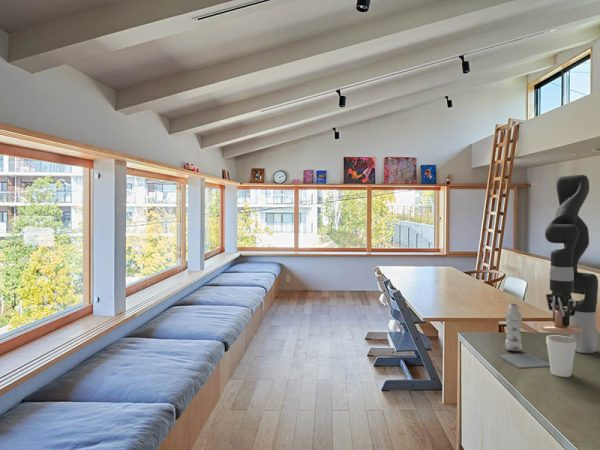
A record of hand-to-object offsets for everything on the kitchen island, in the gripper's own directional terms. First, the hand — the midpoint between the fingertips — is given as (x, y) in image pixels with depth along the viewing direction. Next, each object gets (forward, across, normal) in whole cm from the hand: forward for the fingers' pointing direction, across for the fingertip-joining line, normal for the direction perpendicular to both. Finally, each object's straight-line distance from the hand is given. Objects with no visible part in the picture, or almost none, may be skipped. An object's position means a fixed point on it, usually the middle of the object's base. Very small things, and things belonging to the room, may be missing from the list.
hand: (561, 324), depth 160 cm
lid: (+2, 0, 0) cm, 2 cm away
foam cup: (+19, 0, 0) cm, 19 cm away
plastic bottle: (+19, +26, +2) cm, 32 cm away
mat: (+18, +14, +5) cm, 24 cm away
